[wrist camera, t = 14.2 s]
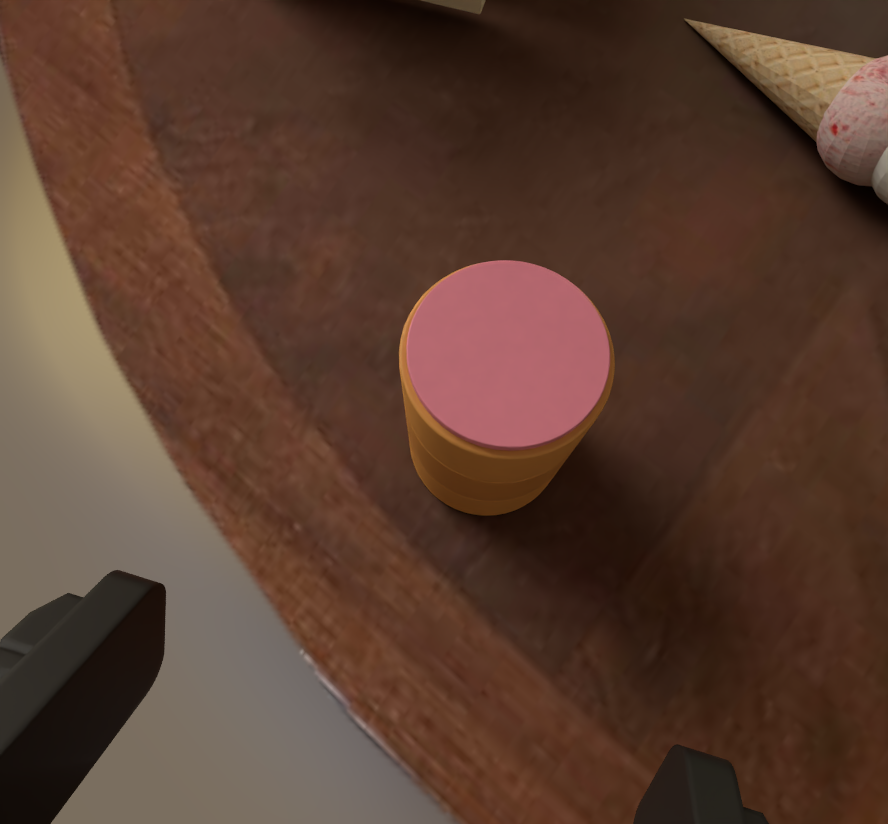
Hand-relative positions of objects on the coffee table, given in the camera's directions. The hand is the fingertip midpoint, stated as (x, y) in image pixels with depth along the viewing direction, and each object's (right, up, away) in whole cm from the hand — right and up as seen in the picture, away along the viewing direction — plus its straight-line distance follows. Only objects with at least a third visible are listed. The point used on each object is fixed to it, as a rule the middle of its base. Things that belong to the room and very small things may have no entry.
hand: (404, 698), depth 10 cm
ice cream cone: (+17, +17, +19) cm, 30 cm away
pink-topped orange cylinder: (+2, +3, +14) cm, 14 cm away
